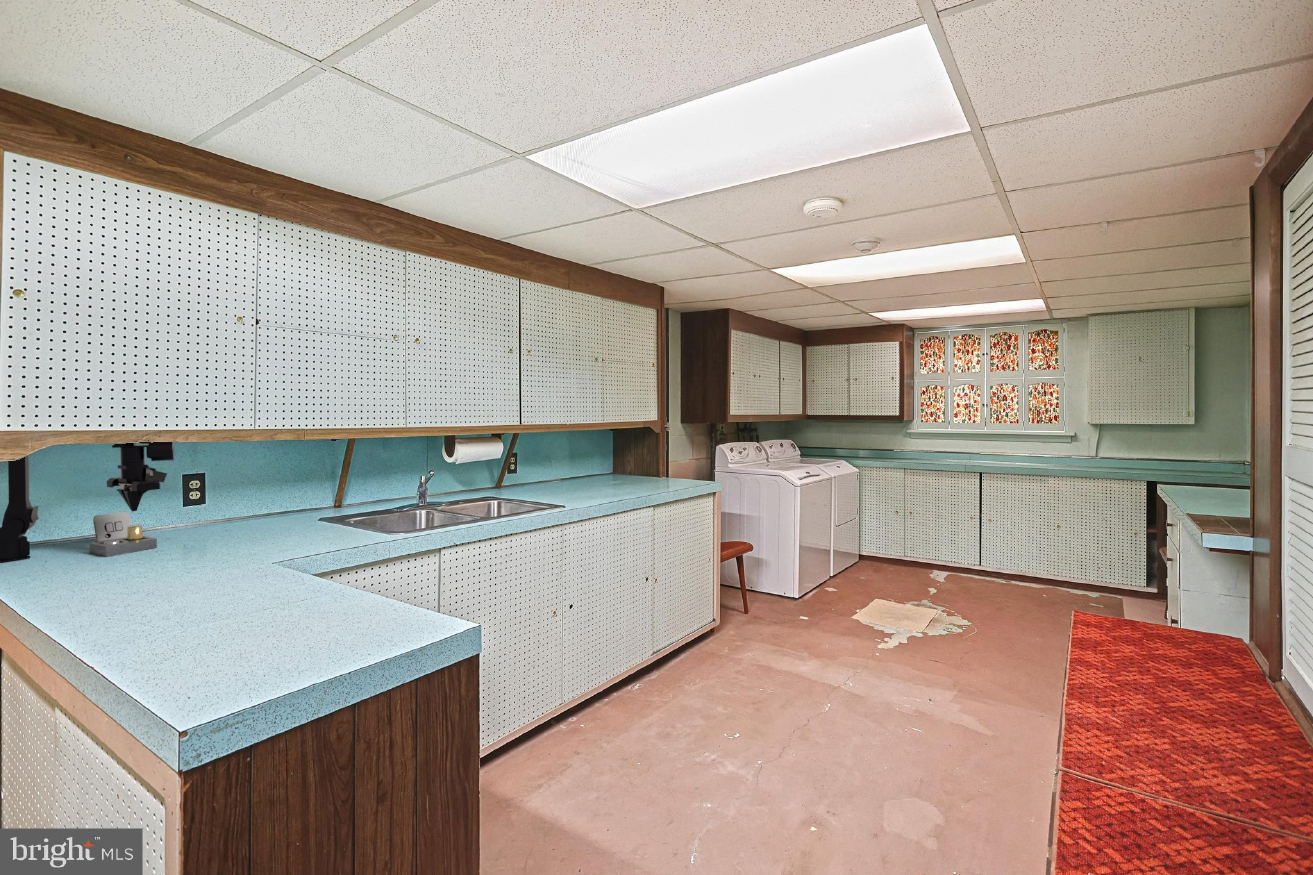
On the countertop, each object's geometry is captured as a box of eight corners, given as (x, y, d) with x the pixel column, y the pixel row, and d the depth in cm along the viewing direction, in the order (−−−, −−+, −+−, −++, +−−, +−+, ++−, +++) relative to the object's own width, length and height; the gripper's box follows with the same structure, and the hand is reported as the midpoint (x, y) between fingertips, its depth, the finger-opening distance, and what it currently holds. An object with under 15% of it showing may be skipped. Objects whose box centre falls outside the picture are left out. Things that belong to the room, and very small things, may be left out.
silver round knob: (107, 554, 187) (107, 543, 187) (101, 553, 188) (101, 541, 188) (122, 552, 190) (122, 540, 190) (116, 550, 192) (115, 539, 191)
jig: (106, 556, 184) (106, 546, 184) (89, 552, 188) (89, 542, 188) (157, 547, 196) (156, 538, 195) (140, 544, 200) (139, 535, 200)
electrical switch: (98, 544, 199) (96, 515, 199) (91, 543, 202) (89, 515, 202) (133, 538, 208) (131, 511, 208) (126, 538, 210) (124, 511, 210)
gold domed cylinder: (131, 550, 192) (131, 528, 192) (125, 548, 194) (124, 526, 193) (145, 547, 195) (144, 526, 195) (138, 546, 197) (138, 524, 197)
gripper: (178, 461, 196) (179, 510, 197) (146, 458, 204) (147, 504, 205) (137, 464, 186) (138, 515, 187) (105, 460, 194) (106, 509, 195)
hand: (134, 511), depth 194 cm, fingers closed
